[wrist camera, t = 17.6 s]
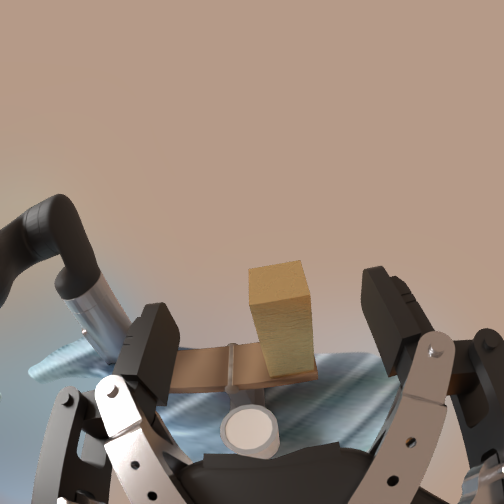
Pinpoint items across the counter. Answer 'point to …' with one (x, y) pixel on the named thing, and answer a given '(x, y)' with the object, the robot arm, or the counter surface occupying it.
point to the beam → (227, 370)
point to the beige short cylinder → (251, 431)
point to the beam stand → (247, 398)
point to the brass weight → (283, 318)
